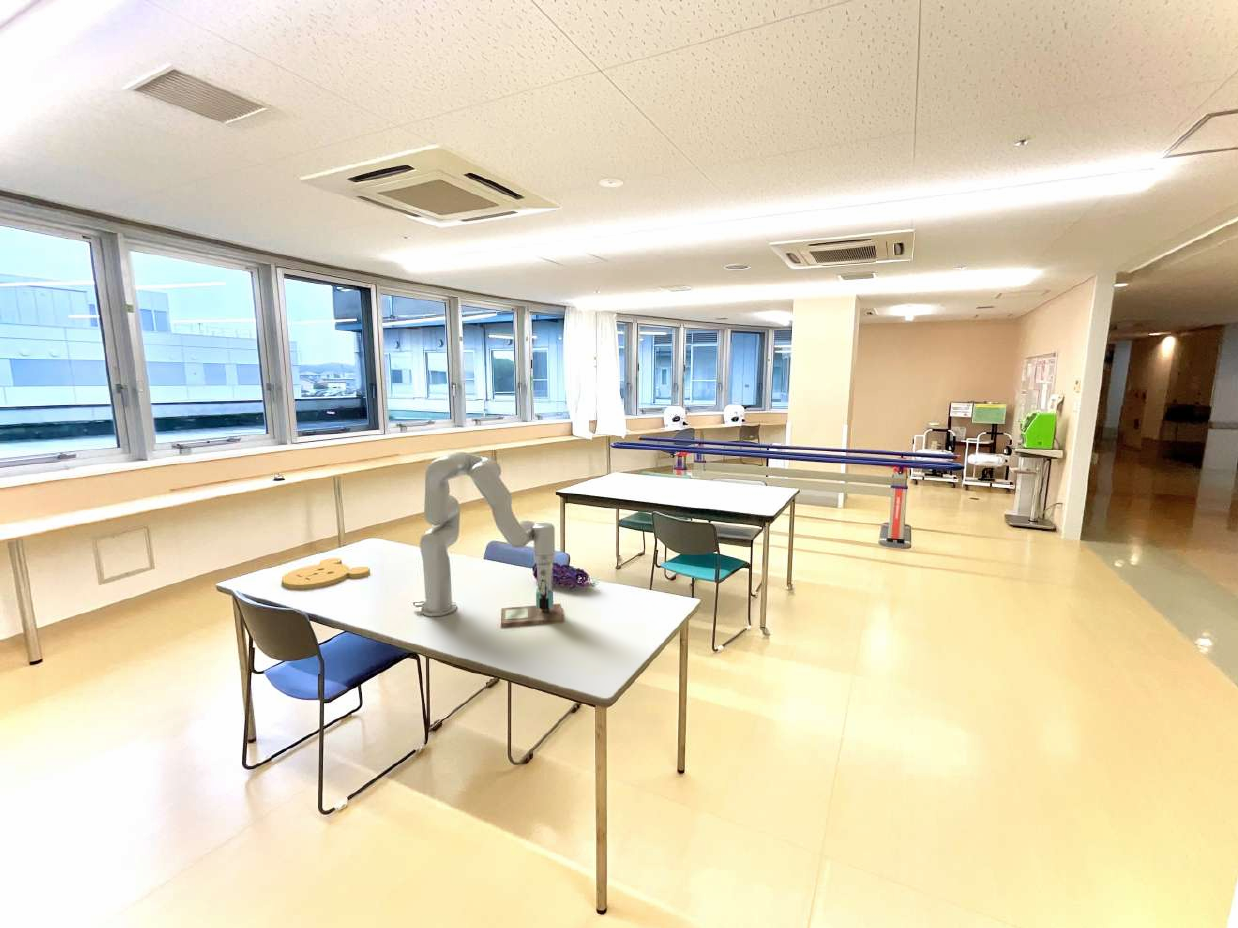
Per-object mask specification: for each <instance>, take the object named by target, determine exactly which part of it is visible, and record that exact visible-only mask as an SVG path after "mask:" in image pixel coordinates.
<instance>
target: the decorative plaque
mask: <svg viewBox="0 0 1238 928" xmlns="http://www.w3.org/2000/svg"><path fill="white" fill-rule="evenodd" d="M318 563H319V564H313V565H309V566H304V567H300V568H298V569H297V568H296V569H294V570H291V571H289V572H288V573H285V574H284V575H282V577H281V586H283V588H285V589H288V590H289V589H290V590H296V591H297V590H298V591H299V590H300V591H303V590H304V591H305V590H314V589H321V588H326V587H329V586H333V585H337V584H338V583H342V582H343V581H345V580H347V579H355V580H356V579H362V578H365V577H369V576H370V574H371V569H370V567H369V566H357V567H351V568H350V566H348V565H346V564H343V563H342V559H341V558H339V557H330V558H326V559H323V560H320V561H319V562H318Z"/></svg>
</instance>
